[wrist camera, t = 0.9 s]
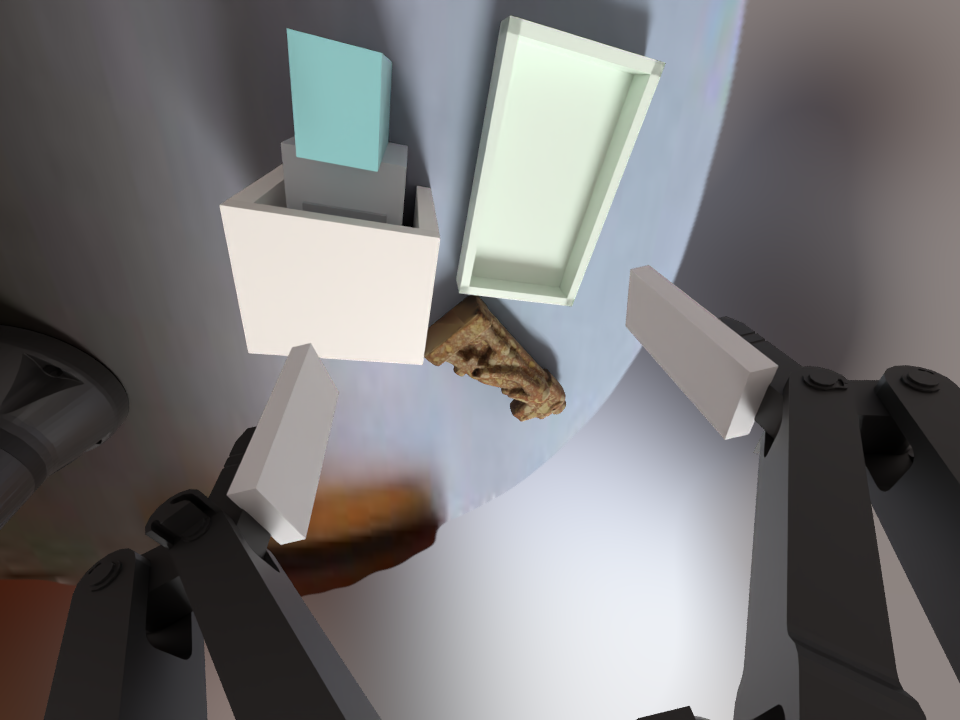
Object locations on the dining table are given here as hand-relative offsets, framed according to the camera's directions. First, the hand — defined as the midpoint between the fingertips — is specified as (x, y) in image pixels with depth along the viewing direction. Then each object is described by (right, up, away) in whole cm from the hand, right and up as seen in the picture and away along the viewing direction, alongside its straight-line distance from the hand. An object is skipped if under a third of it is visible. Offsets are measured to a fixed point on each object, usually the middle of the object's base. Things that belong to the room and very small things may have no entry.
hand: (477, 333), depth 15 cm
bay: (-11, +10, +18) cm, 23 cm away
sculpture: (+3, 0, +29) cm, 29 cm away
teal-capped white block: (-10, +14, +15) cm, 23 cm away
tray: (+5, +14, +18) cm, 23 cm away
